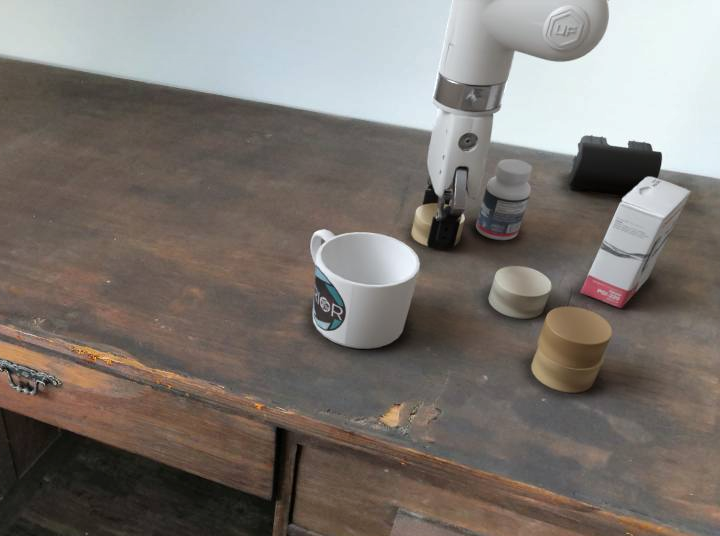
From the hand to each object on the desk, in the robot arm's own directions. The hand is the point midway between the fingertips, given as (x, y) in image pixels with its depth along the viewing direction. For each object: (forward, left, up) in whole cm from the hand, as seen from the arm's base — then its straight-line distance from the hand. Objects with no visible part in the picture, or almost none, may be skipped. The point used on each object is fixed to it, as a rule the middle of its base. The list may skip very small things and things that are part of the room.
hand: (436, 231), depth 98 cm
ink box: (-19, +10, -1) cm, 22 cm away
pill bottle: (-8, -2, -1) cm, 8 cm away
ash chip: (-7, +14, -1) cm, 16 cm away
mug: (+12, +18, -1) cm, 22 cm away
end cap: (-25, -14, -1) cm, 29 cm away
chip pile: (-9, +26, -1) cm, 28 cm away
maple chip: (0, 0, -1) cm, 1 cm away
